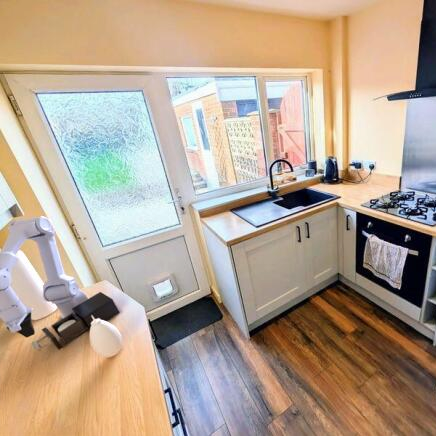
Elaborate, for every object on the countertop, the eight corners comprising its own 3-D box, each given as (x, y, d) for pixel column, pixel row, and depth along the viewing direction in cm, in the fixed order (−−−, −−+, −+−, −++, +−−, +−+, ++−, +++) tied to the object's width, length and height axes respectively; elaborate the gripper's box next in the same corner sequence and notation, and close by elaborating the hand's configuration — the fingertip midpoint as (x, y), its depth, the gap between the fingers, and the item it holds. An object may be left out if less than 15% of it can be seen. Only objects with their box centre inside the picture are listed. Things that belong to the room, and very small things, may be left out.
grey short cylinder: (72, 325, 98) (68, 319, 96) (82, 326, 96) (79, 320, 95) (58, 336, 93) (54, 330, 91) (69, 338, 92) (65, 332, 90)
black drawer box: (91, 331, 96) (82, 317, 93) (80, 322, 101) (71, 308, 98) (119, 312, 104) (112, 298, 101) (107, 304, 109) (100, 291, 106)
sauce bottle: (130, 351, 86) (108, 313, 78) (104, 368, 81) (78, 329, 73) (123, 339, 91) (102, 302, 83) (98, 354, 86) (74, 317, 78)
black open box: (44, 360, 85) (35, 348, 83) (35, 349, 90) (26, 338, 87) (88, 330, 96) (82, 319, 93) (78, 322, 100) (71, 311, 98)
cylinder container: (26, 323, 104) (-18, 265, 91) (35, 309, 112) (-5, 254, 99) (54, 313, 108) (15, 256, 95) (61, 300, 115) (25, 246, 103)
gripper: (23, 309, 76) (45, 339, 82) (26, 288, 86) (46, 317, 92) (-10, 322, 72) (16, 353, 78) (-3, 299, 82) (20, 328, 88)
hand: (30, 334), depth 85 cm, fingers closed
